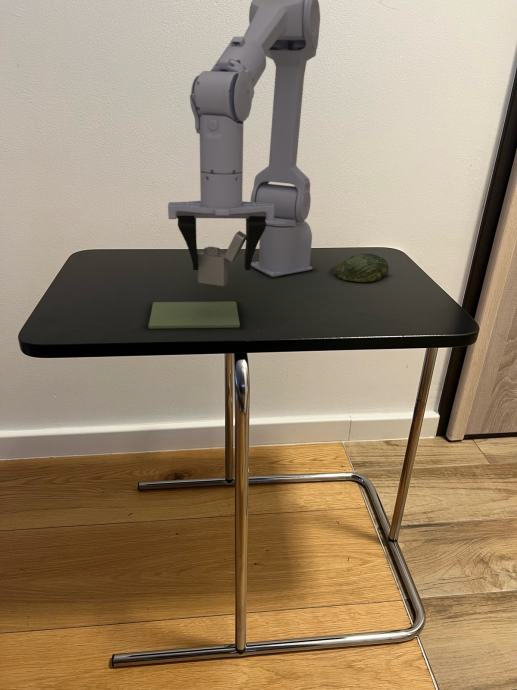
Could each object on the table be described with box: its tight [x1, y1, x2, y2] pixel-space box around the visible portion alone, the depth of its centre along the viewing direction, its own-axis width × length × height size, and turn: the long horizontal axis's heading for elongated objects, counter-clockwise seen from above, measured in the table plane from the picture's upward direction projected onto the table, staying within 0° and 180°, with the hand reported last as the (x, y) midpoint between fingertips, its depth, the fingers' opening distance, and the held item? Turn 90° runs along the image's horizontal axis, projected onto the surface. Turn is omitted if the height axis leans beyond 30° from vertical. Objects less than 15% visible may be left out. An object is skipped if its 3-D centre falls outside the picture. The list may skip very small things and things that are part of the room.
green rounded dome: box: [332, 253, 389, 283], centre depth 101 cm, size 10×4×10 cm
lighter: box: [197, 230, 247, 287], centre depth 78 cm, size 7×2×8 cm, turn 71°
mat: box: [148, 301, 241, 330], centre depth 82 cm, size 13×9×1 cm
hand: (221, 268), depth 79 cm, fingers closed on lighter, 7 cm apart
